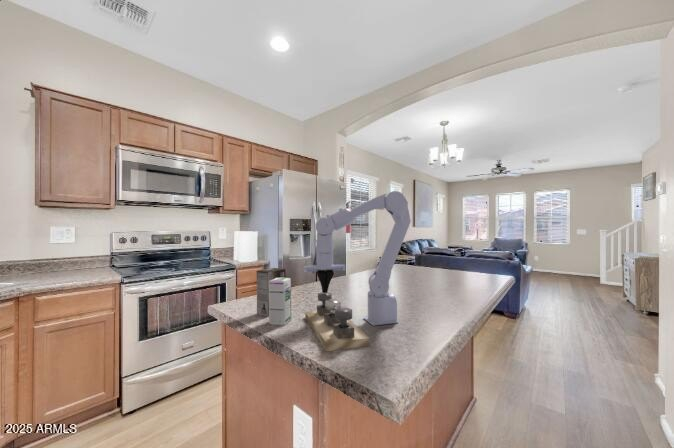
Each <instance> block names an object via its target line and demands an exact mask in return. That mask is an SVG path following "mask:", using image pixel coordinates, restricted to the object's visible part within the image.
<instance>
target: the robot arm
mask: <svg viewBox="0 0 674 448" xmlns="http://www.w3.org/2000/svg"><path fill="white" fill-rule="evenodd" d="M374 210H381V211H382V210H386V211H387V212H388V213H389V214H390V215H391V217H392V219H393V221H394V224H393V227H392V230H391V232H390V235H389V236H388V240H387V242H386V245H385V246H384V249H383V252H382V254H381V257H380V260H379V262H378V264H377V266H376V268H375V271H374V272H373V273H372V274H371V275H370V276H369V278H368V286H369V287H368V288H369V291H368V292H367V316H363V317H362V318H363V319H364V320H365V321H366V322H367V323H369V324H371V325H372V326H380V325H381V326H382V325H390V324H398V323H399V320H398V300H397V297H396V296H395V294H393V293H390V292H389V291H390V290H389V289H390V285H389V284H390V283H389V282H390V279H391V275H392V270H393V267H394V265H395V262H396V259H397V258H398V255H399V252H400V251H401V247H402V245H403V242H404V239H405V237H406V235H407V232H408V229H409V227H410V224H411V215H410V211H409V202H408V200H407V199H406V196H405V195H404V194H403V192H400V191H398V190H394V191H390V192H389V193H388V194H387V193H385V194H380V195H379V196H376V197H373V198H372V199H369V200H368V201H366V202H364V203H362V204H360V205H357V206H356V207H354V208H352V209H349V208H347V207H344V208H343V207H341V208H338V211H336V212H334V213H332V214H326V217H320V218H319V219H318V220H317V221H316V223H315V230H316V264H313V265H305V266H303V272H304V273H312V272H315V274H316V276H317V278H318V280H319V284H320V286H321V293H322V292H323V293H327V292H328V293H329V291H328V290H329V287H330V284H331V281H332V279H333V277H334V274H335V271H336V272H337V271H343V272H344V271H345V272H346V264H334V239H333V232H334V231H338V230H342V229H343V228H345V227H347V226H348V225H351V224H353V223H354V220H355V219H356V218H357V217H360V216H362V215H364V214H367V213H370V212H371V211H374Z"/></svg>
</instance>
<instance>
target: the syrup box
mask: <svg viewBox="0 0 674 448" xmlns="http://www.w3.org/2000/svg"><path fill="white" fill-rule="evenodd" d="M291 279H292V278H291V277H286V278H275V279H273V280H270V281H269V317H268V324H269V325H273V326H286V325H288V323H289V322H291V320H292V285H291V284H292V280H291Z"/></svg>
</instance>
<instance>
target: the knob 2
mask: <svg viewBox="0 0 674 448" xmlns="http://www.w3.org/2000/svg"><path fill="white" fill-rule="evenodd" d="M352 309H353V308H352ZM352 309H351V308H350V307H341V308H337V309H335V319H337V320H340V327H342V328H345V327H347V320H350V321H351V320H352V319H353V310H352Z"/></svg>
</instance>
